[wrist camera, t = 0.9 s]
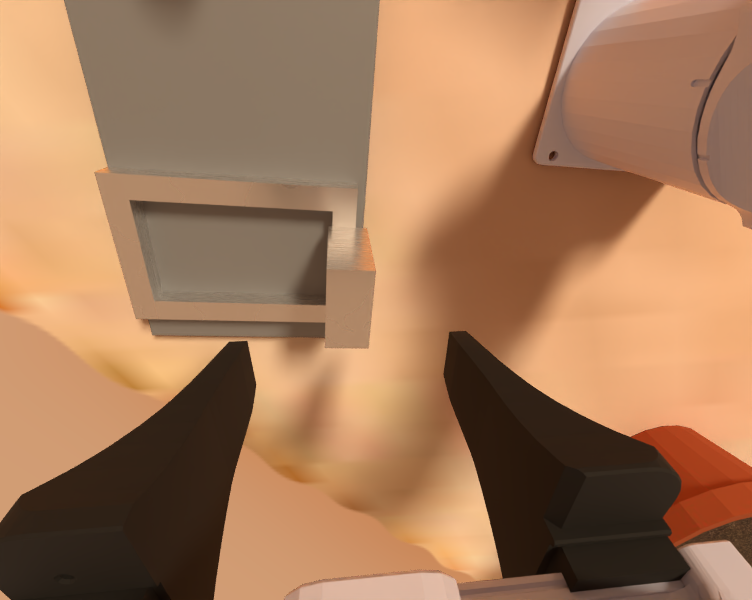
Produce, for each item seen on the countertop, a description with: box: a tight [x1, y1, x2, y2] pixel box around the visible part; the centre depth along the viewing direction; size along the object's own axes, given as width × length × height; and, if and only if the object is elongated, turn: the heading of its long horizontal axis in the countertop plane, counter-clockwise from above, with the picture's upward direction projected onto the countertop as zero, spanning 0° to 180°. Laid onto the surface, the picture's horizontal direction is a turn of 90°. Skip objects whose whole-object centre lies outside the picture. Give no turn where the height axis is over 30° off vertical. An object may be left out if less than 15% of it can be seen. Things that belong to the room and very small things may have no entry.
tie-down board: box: [64, 0, 380, 338], centre depth 18 cm, size 12×27×1 cm, turn 175°
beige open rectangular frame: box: [94, 167, 376, 348], centre depth 18 cm, size 13×8×6 cm, turn 85°
